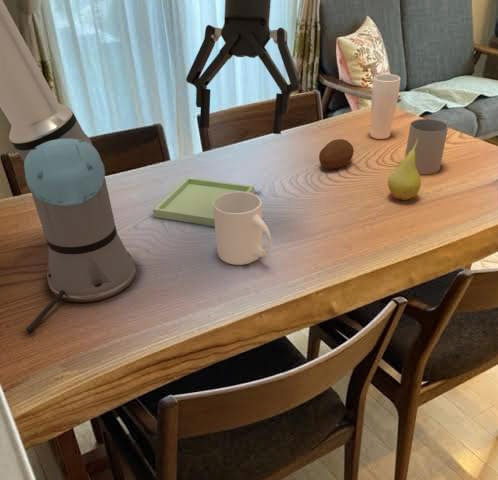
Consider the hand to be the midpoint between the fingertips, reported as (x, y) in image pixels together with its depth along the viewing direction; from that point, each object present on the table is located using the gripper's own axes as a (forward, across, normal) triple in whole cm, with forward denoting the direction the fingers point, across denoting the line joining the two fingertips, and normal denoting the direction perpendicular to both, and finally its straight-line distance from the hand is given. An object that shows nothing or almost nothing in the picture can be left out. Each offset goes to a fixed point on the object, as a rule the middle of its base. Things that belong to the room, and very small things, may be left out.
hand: (240, 130), depth 96 cm
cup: (+6, -33, -42) cm, 54 cm away
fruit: (+12, -30, -27) cm, 42 cm away
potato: (+8, -13, -39) cm, 42 cm away
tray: (+16, +11, -14) cm, 24 cm away
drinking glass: (+1, -22, -60) cm, 63 cm away
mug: (+22, -4, +3) cm, 23 cm away
